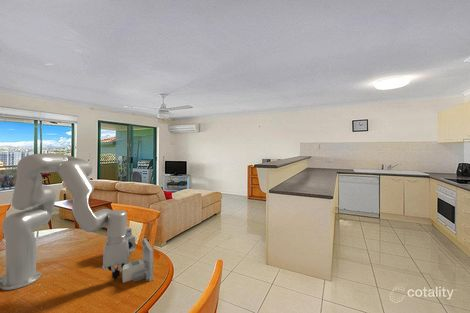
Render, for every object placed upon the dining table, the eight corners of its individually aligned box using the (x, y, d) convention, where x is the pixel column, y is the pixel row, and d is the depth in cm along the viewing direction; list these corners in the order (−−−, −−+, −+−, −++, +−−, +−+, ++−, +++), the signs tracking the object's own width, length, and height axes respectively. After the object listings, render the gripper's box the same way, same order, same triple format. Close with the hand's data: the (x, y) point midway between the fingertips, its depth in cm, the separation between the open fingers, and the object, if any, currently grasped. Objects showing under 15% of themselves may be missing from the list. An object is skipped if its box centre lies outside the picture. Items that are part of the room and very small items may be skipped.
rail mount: (134, 286, 90) (134, 254, 90) (129, 269, 103) (129, 241, 103) (153, 280, 94) (153, 250, 94) (145, 264, 108) (145, 238, 107)
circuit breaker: (122, 263, 109) (122, 235, 108) (111, 255, 117) (111, 229, 117) (136, 257, 115) (136, 231, 114) (124, 250, 123) (124, 225, 123)
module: (122, 282, 92) (122, 268, 92) (121, 277, 97) (121, 263, 96) (144, 276, 98) (144, 262, 97) (142, 271, 102) (142, 258, 102)
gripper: (133, 232, 100) (132, 269, 100) (97, 239, 91) (96, 279, 92) (136, 238, 94) (135, 278, 94) (97, 245, 85) (95, 289, 86)
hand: (115, 278), depth 93 cm, fingers closed
